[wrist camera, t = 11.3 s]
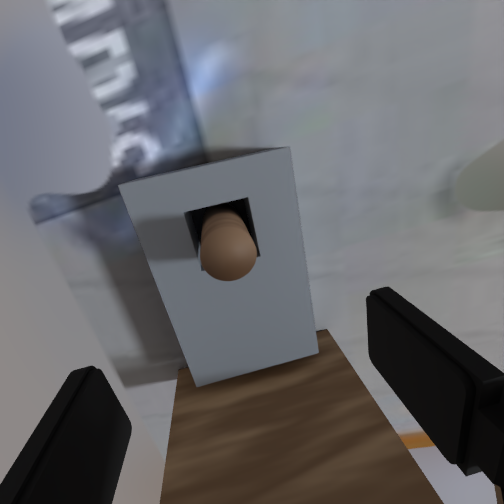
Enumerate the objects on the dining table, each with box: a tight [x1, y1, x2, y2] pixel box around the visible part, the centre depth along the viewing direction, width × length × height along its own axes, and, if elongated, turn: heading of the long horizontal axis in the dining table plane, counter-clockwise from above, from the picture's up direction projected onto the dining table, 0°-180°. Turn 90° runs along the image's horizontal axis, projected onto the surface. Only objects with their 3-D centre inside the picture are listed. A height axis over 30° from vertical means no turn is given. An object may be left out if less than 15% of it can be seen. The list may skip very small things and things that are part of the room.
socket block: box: [118, 147, 319, 387], centre depth 27 cm, size 22×14×5 cm, turn 12°
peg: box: [200, 203, 257, 281], centre depth 23 cm, size 4×4×10 cm
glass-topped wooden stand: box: [160, 329, 444, 504], centre depth 18 cm, size 12×20×32 cm, turn 102°
